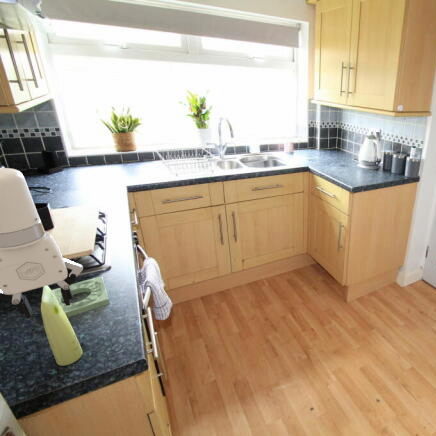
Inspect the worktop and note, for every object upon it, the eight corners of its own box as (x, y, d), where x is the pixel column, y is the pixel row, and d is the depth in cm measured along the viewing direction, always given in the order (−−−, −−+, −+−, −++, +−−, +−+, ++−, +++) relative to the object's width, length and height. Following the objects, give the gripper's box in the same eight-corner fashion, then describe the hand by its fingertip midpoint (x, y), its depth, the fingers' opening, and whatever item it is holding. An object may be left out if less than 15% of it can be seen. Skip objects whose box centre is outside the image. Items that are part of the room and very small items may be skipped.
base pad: (47, 328, 83) (43, 319, 81) (47, 300, 92) (44, 292, 91) (111, 307, 91) (108, 298, 89) (104, 283, 101) (102, 275, 99)
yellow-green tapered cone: (90, 352, 76) (65, 285, 68) (70, 369, 72) (41, 299, 64) (71, 347, 77) (44, 281, 69) (50, 364, 73) (19, 295, 65)
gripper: (-53, 255, 53) (-9, 336, 61) (75, 229, 63) (99, 301, 71) (-44, 238, 59) (-5, 315, 66) (72, 216, 69) (95, 285, 76)
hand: (49, 307), depth 68 cm, fingers open, 5 cm apart
